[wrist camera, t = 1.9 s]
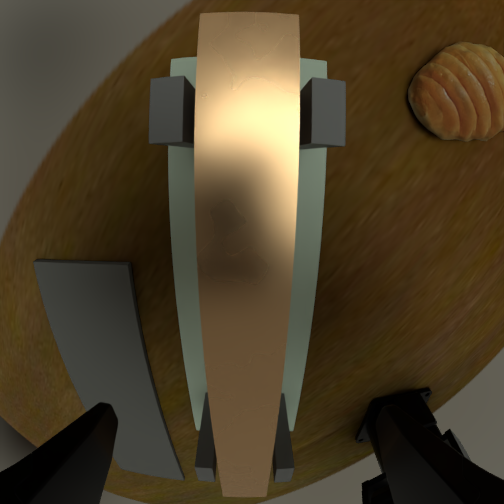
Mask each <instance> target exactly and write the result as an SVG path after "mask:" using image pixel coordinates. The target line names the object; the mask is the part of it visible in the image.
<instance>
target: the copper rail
mask: <svg viewBox="0 0 504 504" xmlns="http://www.w3.org/2000/svg"><path fill="white" fill-rule="evenodd" d="M299 131H300V40H299V15H293V14H282V13H264V12H220V13H203V14H200V22H199V35H198V50H197V68H196V91H195V129H194V189H195V229H196V254H197V273H198V290H199V305H200V318H201V330H202V342H203V353H204V363H205V373H206V382H207V391H208V399H209V407H210V415H211V422H212V430H213V437H214V444H215V450H216V457H217V463H218V469H219V475H220V481H221V487H222V492H223V496H226V497H266V494H267V488H268V482H269V476H270V470H271V464H272V457H273V450H274V443H275V436H276V429H277V422H278V414H279V406H280V398H281V390H282V382H283V373H284V364H285V355H286V345H287V335H288V324H289V313H290V302H291V290H292V277H293V263H294V248H295V232H296V214H297V193H298V168H299Z"/></svg>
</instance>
